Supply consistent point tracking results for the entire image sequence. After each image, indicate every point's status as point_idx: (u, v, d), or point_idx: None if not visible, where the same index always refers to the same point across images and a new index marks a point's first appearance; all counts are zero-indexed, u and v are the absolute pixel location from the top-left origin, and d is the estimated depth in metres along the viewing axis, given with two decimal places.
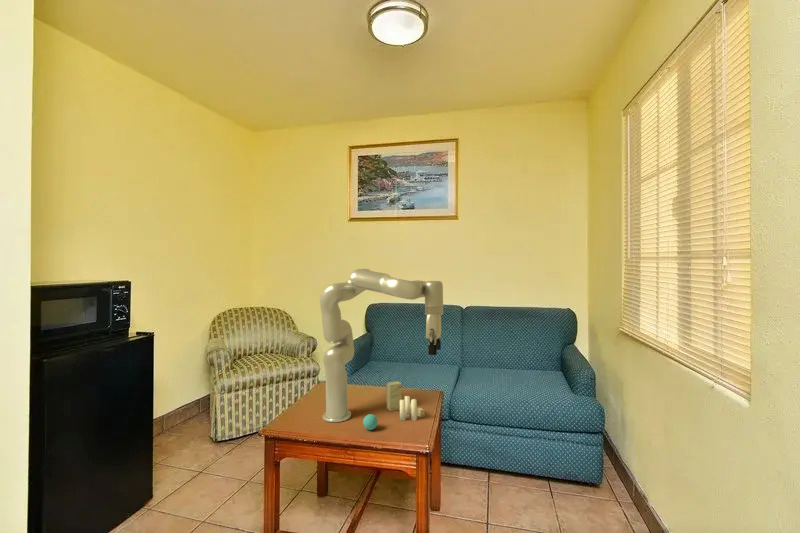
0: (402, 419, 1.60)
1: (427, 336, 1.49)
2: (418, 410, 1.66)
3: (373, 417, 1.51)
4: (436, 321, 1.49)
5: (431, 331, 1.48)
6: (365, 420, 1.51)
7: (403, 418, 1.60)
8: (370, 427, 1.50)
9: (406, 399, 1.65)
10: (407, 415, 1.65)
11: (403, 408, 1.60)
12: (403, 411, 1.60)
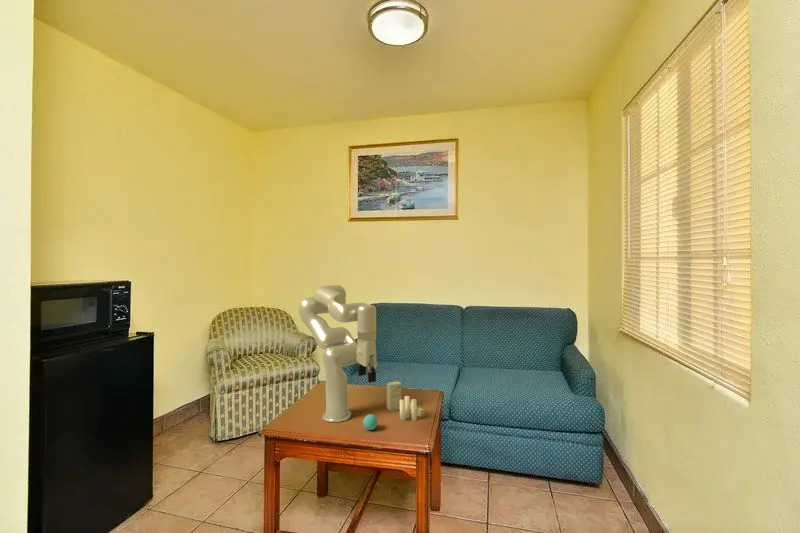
0: (402, 419, 1.60)
1: (367, 364, 1.43)
2: (418, 410, 1.66)
3: (373, 417, 1.51)
4: (375, 347, 1.46)
5: (373, 357, 1.43)
6: (365, 420, 1.51)
7: (403, 418, 1.60)
8: (370, 427, 1.50)
9: (406, 399, 1.65)
10: (407, 415, 1.65)
11: (403, 408, 1.60)
12: (403, 411, 1.60)
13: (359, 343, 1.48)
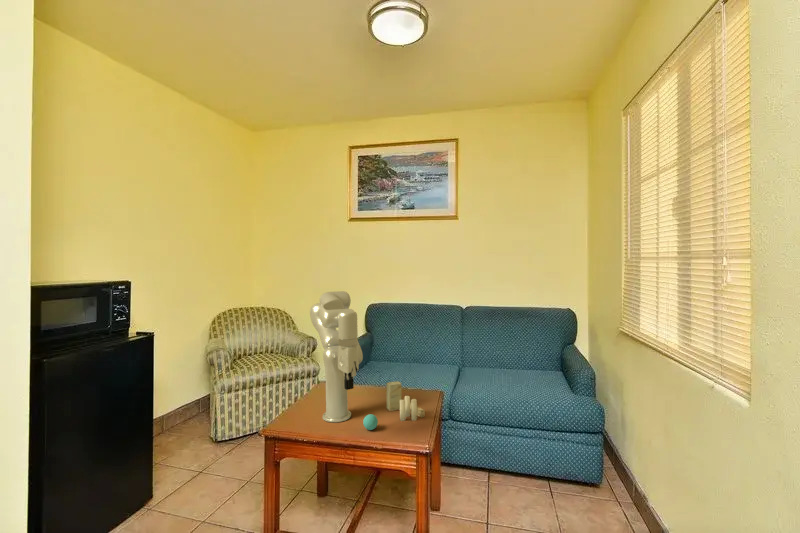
0: (402, 419, 1.60)
1: (349, 370, 1.42)
2: (418, 410, 1.66)
3: (373, 417, 1.51)
4: (357, 353, 1.45)
5: (353, 368, 1.43)
6: (365, 420, 1.51)
7: (403, 418, 1.60)
8: (370, 427, 1.50)
9: (406, 399, 1.65)
10: (407, 415, 1.65)
11: (403, 408, 1.60)
12: (403, 411, 1.60)
13: (340, 350, 1.47)
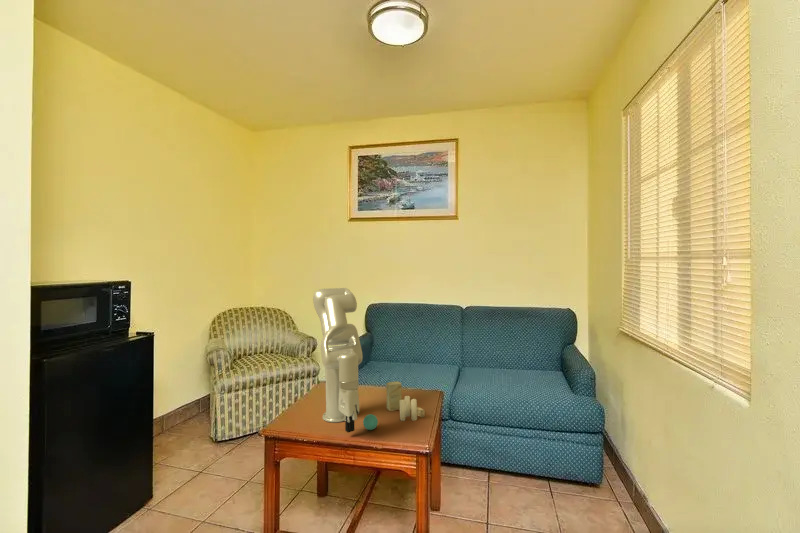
0: (402, 419, 1.60)
1: (350, 414, 1.42)
2: (418, 410, 1.66)
3: (373, 417, 1.51)
4: (358, 396, 1.45)
5: (354, 411, 1.43)
6: (365, 420, 1.51)
7: (403, 418, 1.60)
8: (370, 427, 1.50)
9: (406, 399, 1.65)
10: (407, 415, 1.65)
11: (403, 408, 1.60)
12: (403, 411, 1.60)
13: (341, 392, 1.47)
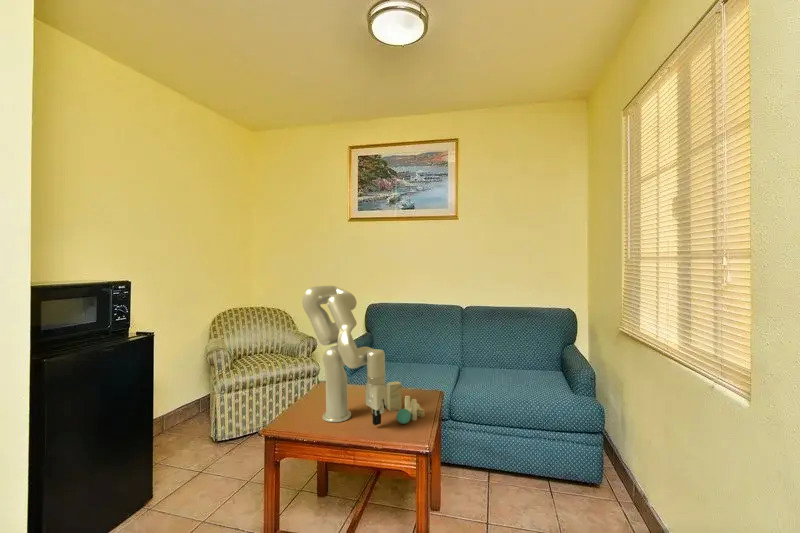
0: None
1: (378, 408, 1.49)
2: (418, 410, 1.66)
3: (399, 418, 1.56)
4: (385, 390, 1.52)
5: (382, 405, 1.50)
6: None
7: None
8: (407, 421, 1.56)
9: (406, 399, 1.65)
10: None
11: None
12: None
13: (369, 387, 1.54)
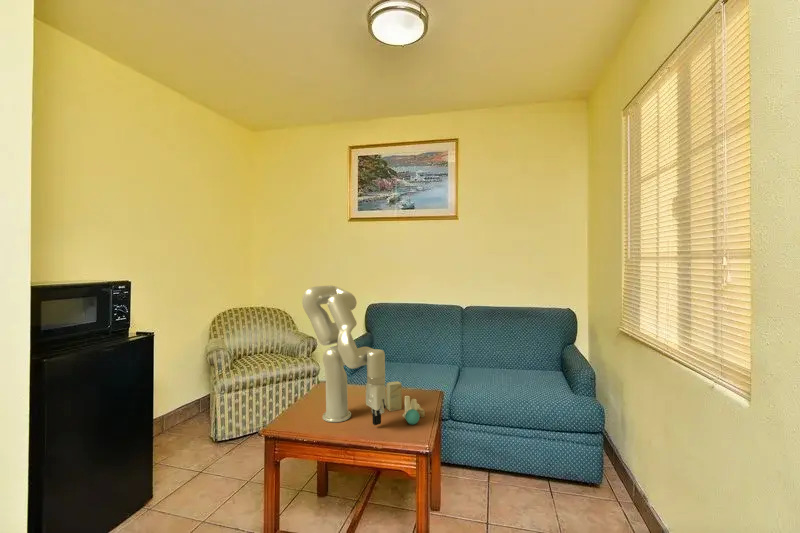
0: None
1: (378, 408, 1.49)
2: (418, 410, 1.66)
3: (410, 416, 1.55)
4: (385, 390, 1.52)
5: (382, 405, 1.50)
6: (405, 416, 1.57)
7: None
8: (409, 423, 1.56)
9: (406, 399, 1.65)
10: None
11: None
12: None
13: (369, 387, 1.54)
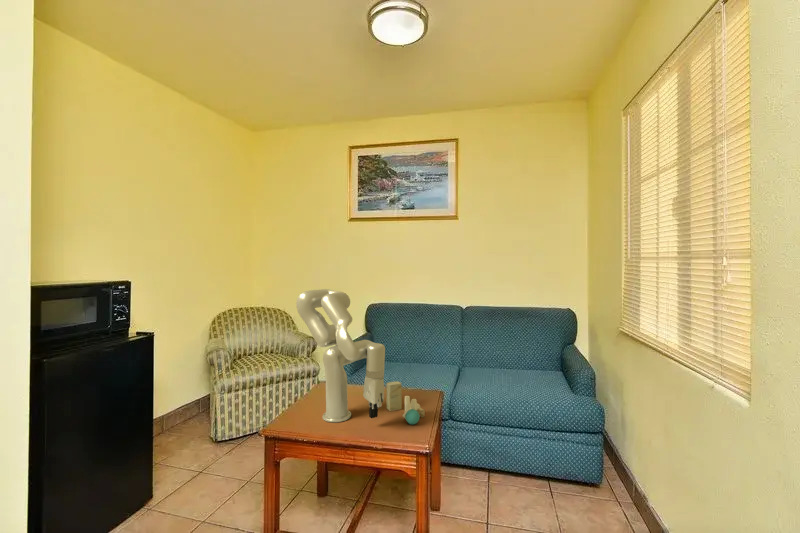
0: None
1: (376, 401, 1.50)
2: (418, 410, 1.66)
3: (410, 416, 1.55)
4: (383, 385, 1.52)
5: (379, 399, 1.51)
6: (405, 416, 1.57)
7: None
8: (409, 423, 1.56)
9: (406, 399, 1.65)
10: None
11: None
12: None
13: (367, 380, 1.54)
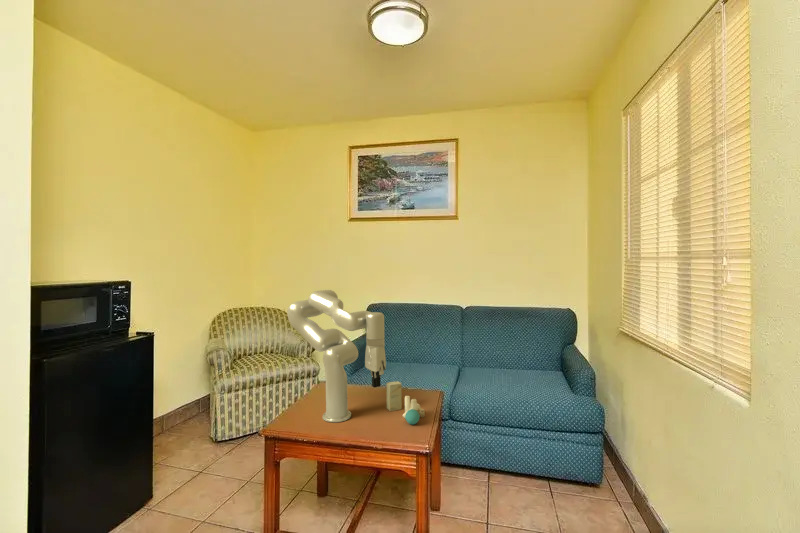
0: None
1: (377, 369, 1.49)
2: (418, 410, 1.66)
3: (410, 416, 1.55)
4: (384, 352, 1.52)
5: (381, 366, 1.50)
6: (405, 416, 1.57)
7: None
8: (409, 423, 1.56)
9: (406, 399, 1.65)
10: None
11: None
12: None
13: (368, 349, 1.54)
